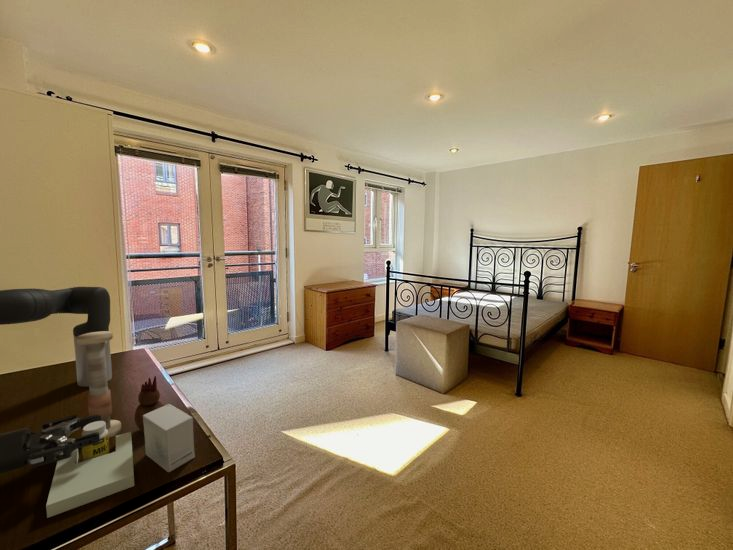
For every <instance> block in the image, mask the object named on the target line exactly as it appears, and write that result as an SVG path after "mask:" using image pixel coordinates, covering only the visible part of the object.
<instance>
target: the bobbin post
mask: <svg viewBox="0 0 733 550" xmlns="http://www.w3.org/2000/svg"><path fill="white" fill-rule="evenodd" d="M113 338H114V336H113V332H112V331H110V330H109V331H99V332H91V333H86V334H82V335H79V336H77V337H76V343H77V344H79V345H86V353H87V366H88V378H89V386H88V388H89V390H88V391H89V393H88V394H87V396H86V397H87V408H88V417H90V416H94V415H98V414H100V415H101V421H104V422H105V423H106V429H107V430H108V436H109V439H111V438H113V437H116V436H117V434H119V433H120V432H121V431H122V423H121V421H120V420H117V419H111V415H112V414H113V405H112V392H111V389H110V388H109V386H108V381H107V369H106V355H105V342H106V341H109V340H110V341H112V340H113ZM81 436H83V431H82V432H81V435H80V437H81Z"/></svg>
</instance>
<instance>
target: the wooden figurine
mask: <svg viewBox="0 0 733 550" xmlns="http://www.w3.org/2000/svg"><path fill="white" fill-rule="evenodd" d="M157 385H158V384H157V376H156V375H155V376H154V377H153V381H152V380H151V377H148V381H144V383H143V384H141V388H140V392H139V393H138V397H137V400H138V403H139V405H137V407H136V409H135V412H134V422H135V425H136V428H138V429H139V431H140V432H142V433H144V423H143V415H145V414H147V413H149V412H151V411H154V410H156V409H158V408H161V407H163V406H165V405H164V404H163V403H162V402H161V401H160V396H161V394H160V391H159V389H158V386H157Z"/></svg>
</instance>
